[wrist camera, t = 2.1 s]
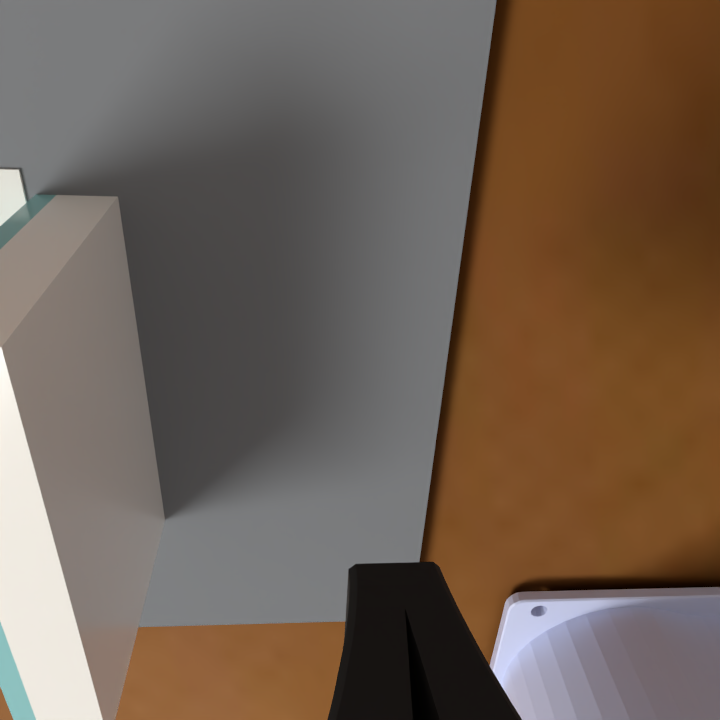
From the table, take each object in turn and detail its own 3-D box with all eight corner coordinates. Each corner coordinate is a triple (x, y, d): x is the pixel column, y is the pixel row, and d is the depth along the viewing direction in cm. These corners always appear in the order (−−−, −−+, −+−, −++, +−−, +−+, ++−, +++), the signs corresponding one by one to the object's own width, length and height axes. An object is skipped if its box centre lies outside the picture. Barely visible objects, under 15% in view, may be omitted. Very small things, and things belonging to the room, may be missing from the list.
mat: (497, -45, 12) (503, -44, 12) (409, 608, 21) (411, 621, 21) (-480, -102, 11) (-510, -103, 10) (-114, 622, 20) (-123, 636, 20)
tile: (117, 196, 13) (1, 347, 8) (165, 520, 18) (108, 743, 13) (35, 194, 13) (-134, 346, 8) (104, 520, 18) (24, 746, 13)
